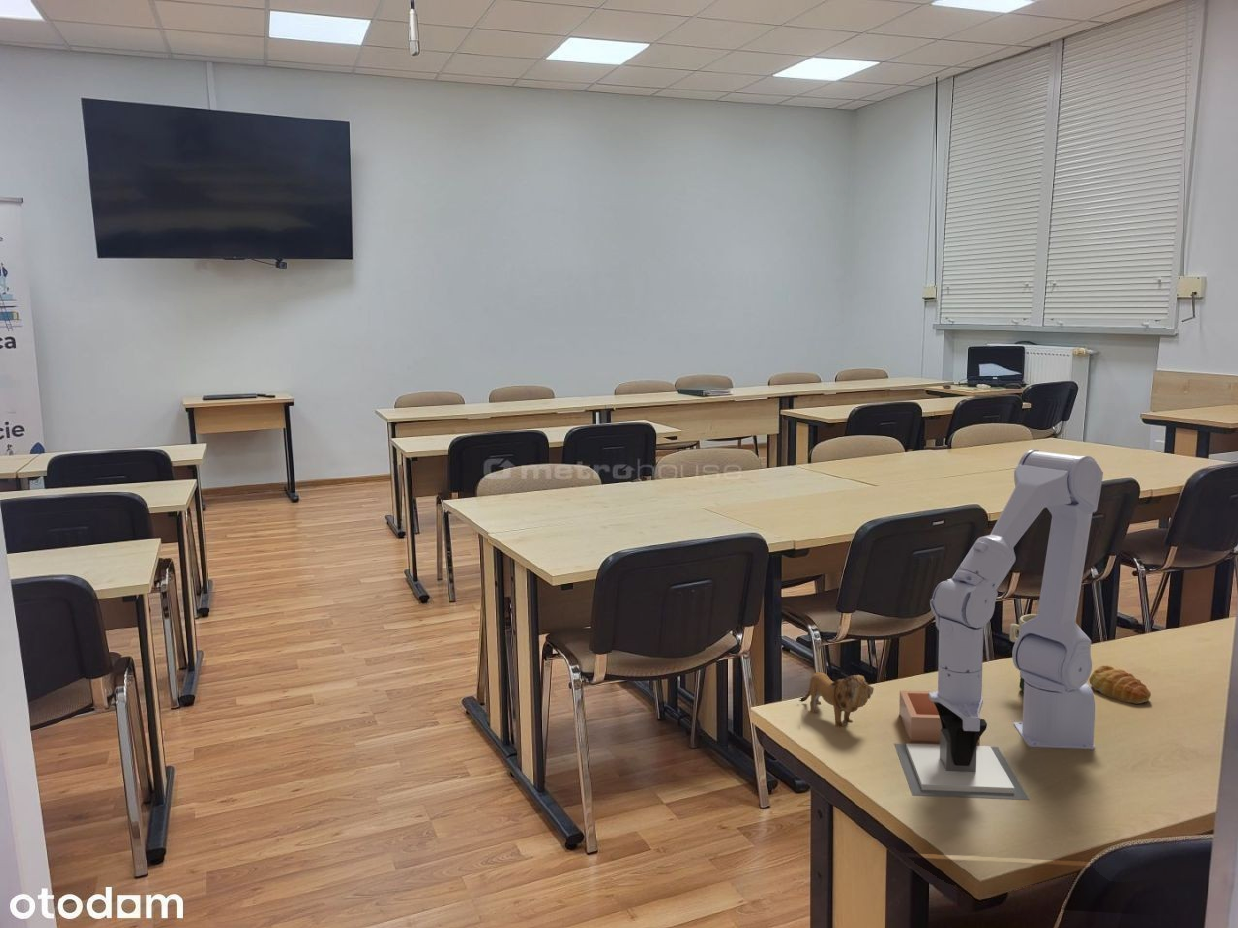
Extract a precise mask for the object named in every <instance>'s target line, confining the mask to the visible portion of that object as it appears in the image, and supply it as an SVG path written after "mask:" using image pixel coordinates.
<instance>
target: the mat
mask: <svg viewBox="0 0 1238 928" xmlns="http://www.w3.org/2000/svg"><path fill="white" fill-rule="evenodd" d="M893 744H894V747H895V750H896V753H897V755H898V759H899V761H900V764H901V768H902V770H903V773H904V776H905V778H906V780H907V784H908V786H909V789H910V793H911V795H912V796H921V797H942V798H944V797H948V798H966V799H967V798H968V799H969V798H971V799H993V800H1016V801H1017V800H1019V801H1030V798H1029V797H1028V795H1027V793H1026V791H1025V790H1024V788H1023V787H1022V785H1021V784H1020V781H1019V779H1018V778H1017V776H1016V775H1015V774H1014V771H1013V770H1012V768H1011V766H1010V765H1009V763H1008V761H1007V760H1006V758H1005V756H1004V754H1003V753H1002V751H1001V750H1000V748H999V747H998V746H990V747H991V748H992V750H993V752H994V754H995V755H996V757H997V759H998V761H999V762H1000V764H1001V766H1002V767H1003V769H1004V771H1005V773H1006V774H1007V776H1008V778H1009V779H1010V781H1011V783H1012V785H1013V786H1014V793H991V792H966V791H941V790H922V789H921V786H920V784H919V781H918V778H917V776H916V773H915V770H914V768H913V765H912V763H911V760H910V757H909V755H908V752H907V749H906V744H907V743H893Z"/></svg>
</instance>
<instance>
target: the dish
mask: <svg viewBox="0 0 1238 928" xmlns="http://www.w3.org/2000/svg"><path fill="white" fill-rule="evenodd" d="M936 691H937V690H905V689H904V690H901V689H900V690H899V713H898V714H899V717H900V720H901V722H902V724H903V727H904V730H905V732H906V734H907V737H908V740H909V742H910V743H909V744H934V745H940V730H941V729H942V724H941V720H940V716H939V713H938V710H937V708H936V706H935V704H934V702H933V701H931V700H930V698H929V692H936ZM980 739H981V738H979V740H978V742H977V746H981V744H980V743H981V741H980Z"/></svg>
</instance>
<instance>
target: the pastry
mask: <svg viewBox="0 0 1238 928" xmlns="http://www.w3.org/2000/svg"><path fill="white" fill-rule="evenodd" d="M1088 681H1089V685H1091V688H1093V689H1094V691H1098V692H1100V694H1102V695H1104V696H1106V697H1110V698H1111V699H1114V700H1116V701H1117V700H1118V701H1120V700H1121V702H1124V703H1132V704H1136V705H1139V704H1142V703H1146V702H1149V700H1150V698H1151V697H1152V696H1151V695H1152V694H1151V691H1150V690H1149V689H1148V688H1147V685H1145V684H1144V683H1142V681H1141V680H1140V679H1137V677H1135V676H1134V675H1133V673H1128V672H1126V670H1124V669H1121V668H1120V669H1119V668H1118V669H1115V668H1114V667H1113V666H1110V665H1101V666H1099V667H1098V668H1097V669H1095V670H1094V671H1093V672H1092V673H1091V675H1090V677H1089V679H1088Z"/></svg>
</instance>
